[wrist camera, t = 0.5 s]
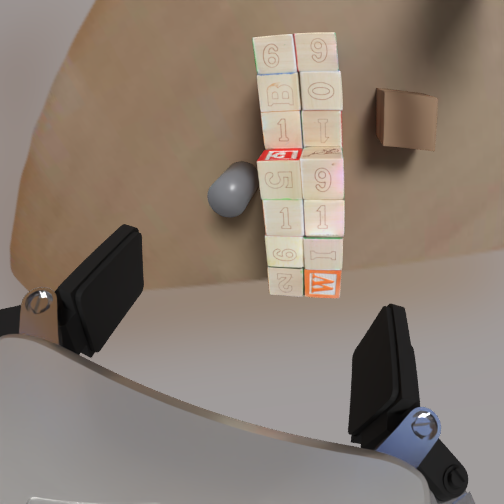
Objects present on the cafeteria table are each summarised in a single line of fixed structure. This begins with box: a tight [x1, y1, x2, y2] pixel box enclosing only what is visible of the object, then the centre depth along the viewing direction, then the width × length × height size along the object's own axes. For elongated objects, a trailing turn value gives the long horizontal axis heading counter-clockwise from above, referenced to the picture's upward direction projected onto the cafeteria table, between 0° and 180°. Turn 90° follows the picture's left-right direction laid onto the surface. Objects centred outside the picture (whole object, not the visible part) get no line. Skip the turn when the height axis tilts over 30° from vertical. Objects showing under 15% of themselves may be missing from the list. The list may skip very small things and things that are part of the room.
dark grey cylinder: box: [208, 161, 259, 217], centre depth 33 cm, size 4×4×6 cm
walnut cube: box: [376, 88, 438, 151], centre depth 25 cm, size 5×5×5 cm
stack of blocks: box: [252, 33, 345, 298], centre depth 26 cm, size 21×6×12 cm, turn 6°
